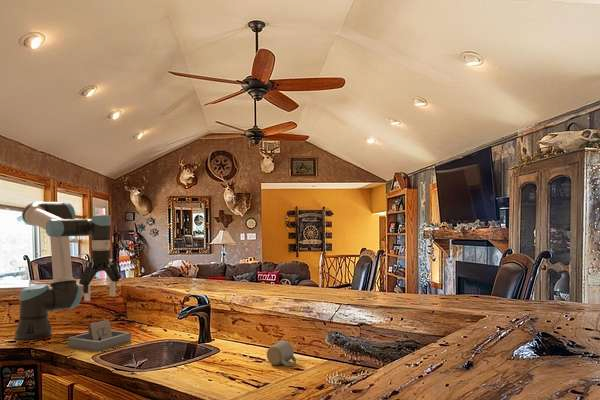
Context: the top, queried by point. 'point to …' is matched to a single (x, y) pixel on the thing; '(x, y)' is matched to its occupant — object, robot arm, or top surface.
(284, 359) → the ceramic mug
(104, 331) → the electrical switch
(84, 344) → the parts tray
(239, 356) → the top surface
